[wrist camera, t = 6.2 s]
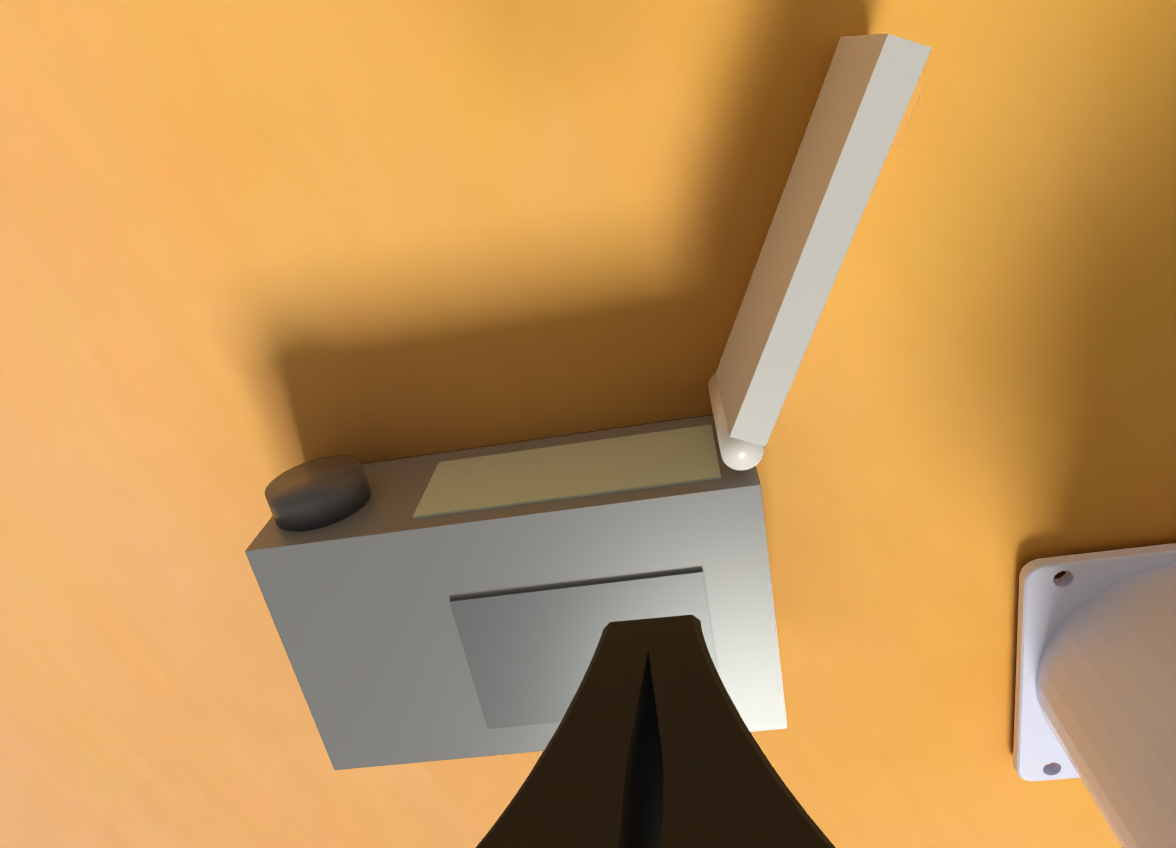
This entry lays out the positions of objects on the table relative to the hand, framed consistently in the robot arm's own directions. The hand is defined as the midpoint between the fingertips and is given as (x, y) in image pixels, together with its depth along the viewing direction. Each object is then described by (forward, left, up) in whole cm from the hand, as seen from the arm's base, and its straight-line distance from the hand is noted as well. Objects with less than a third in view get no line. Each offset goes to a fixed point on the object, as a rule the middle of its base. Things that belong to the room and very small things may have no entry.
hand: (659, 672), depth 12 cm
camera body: (+4, +4, -10) cm, 12 cm away
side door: (-4, -4, -10) cm, 12 cm away
